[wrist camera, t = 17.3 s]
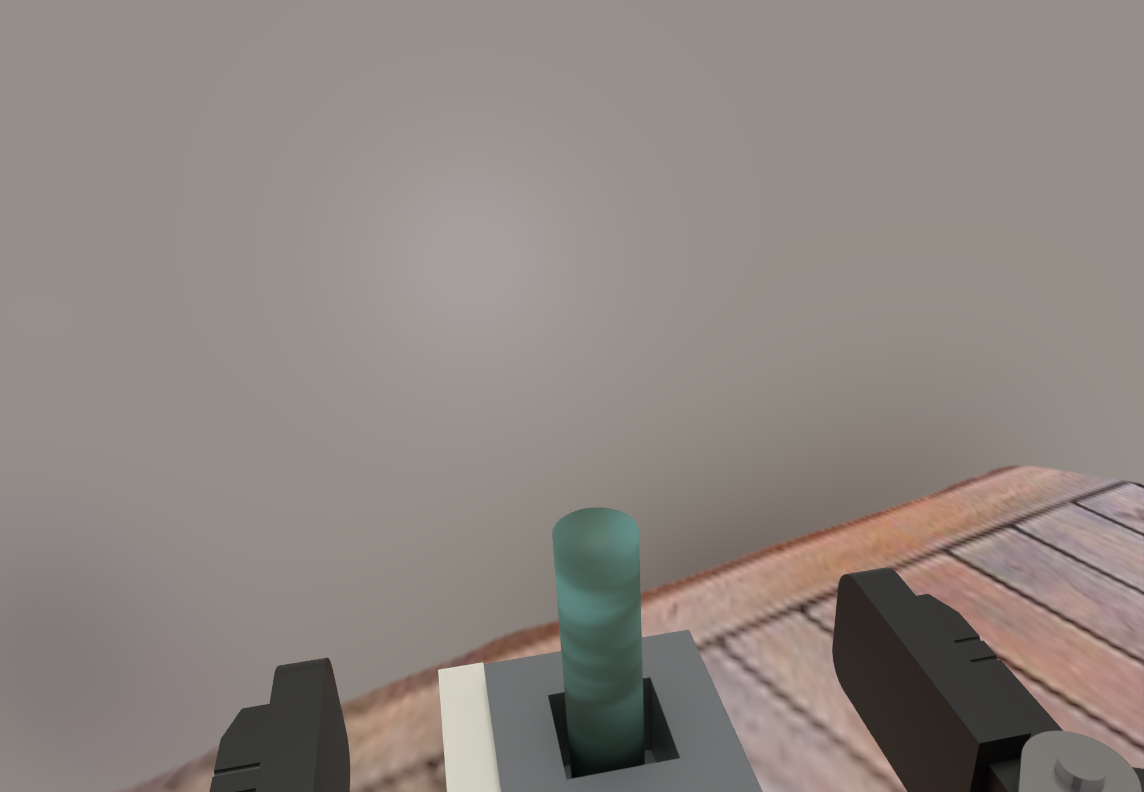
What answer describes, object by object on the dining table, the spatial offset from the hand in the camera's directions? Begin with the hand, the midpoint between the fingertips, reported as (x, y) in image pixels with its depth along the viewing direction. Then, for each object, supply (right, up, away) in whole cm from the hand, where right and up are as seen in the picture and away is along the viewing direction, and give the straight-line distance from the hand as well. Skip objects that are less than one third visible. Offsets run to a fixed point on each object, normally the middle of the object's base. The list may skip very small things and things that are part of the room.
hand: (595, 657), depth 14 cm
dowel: (+1, -16, +31) cm, 35 cm away
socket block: (+2, -18, +32) cm, 36 cm away
